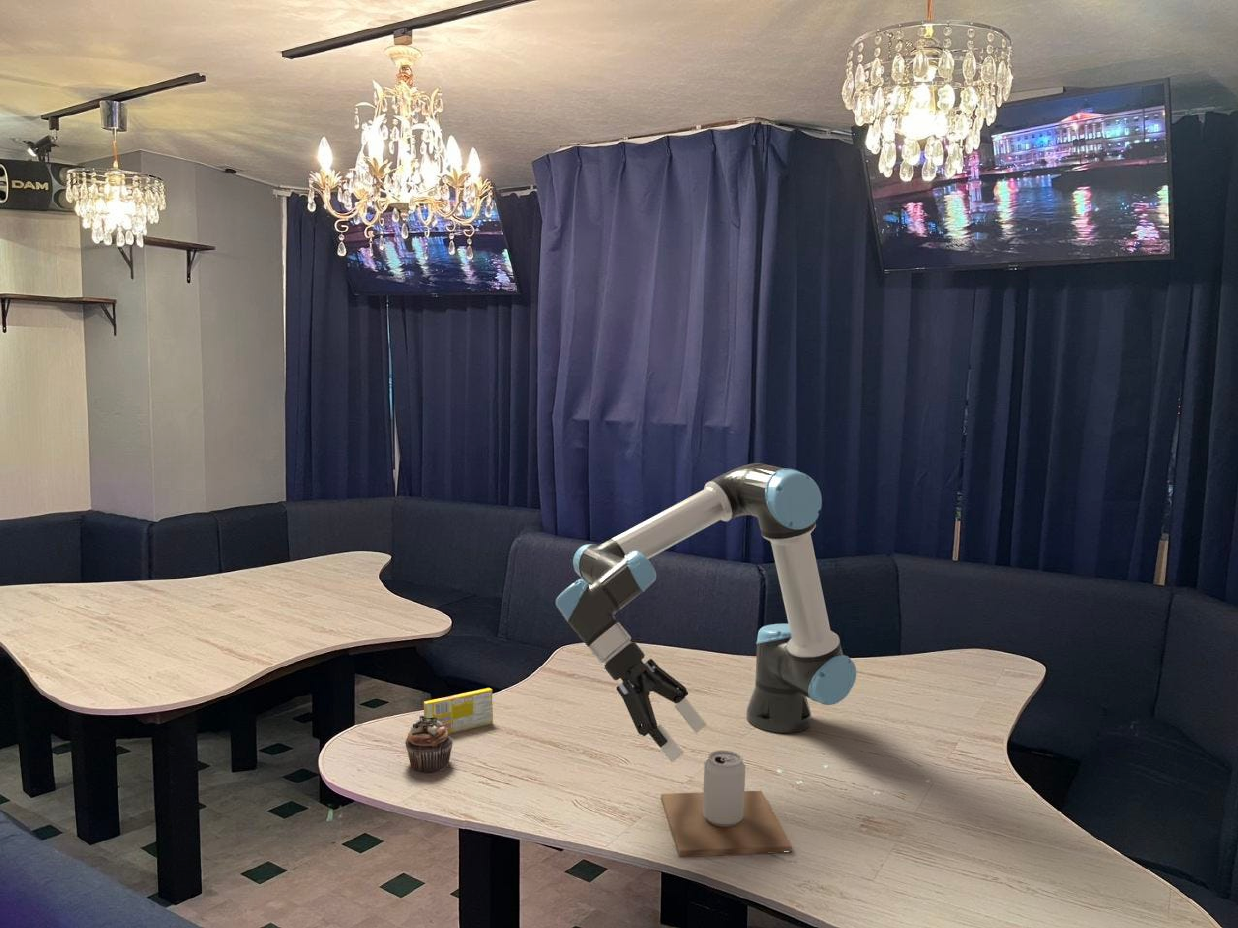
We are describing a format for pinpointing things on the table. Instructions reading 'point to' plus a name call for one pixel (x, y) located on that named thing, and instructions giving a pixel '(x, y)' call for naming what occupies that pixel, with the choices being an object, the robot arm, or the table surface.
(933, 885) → the table surface
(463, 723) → the candy box
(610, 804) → the table surface
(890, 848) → the table surface
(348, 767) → the table surface
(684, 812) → the walnut board
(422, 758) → the cupcake
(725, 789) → the can
